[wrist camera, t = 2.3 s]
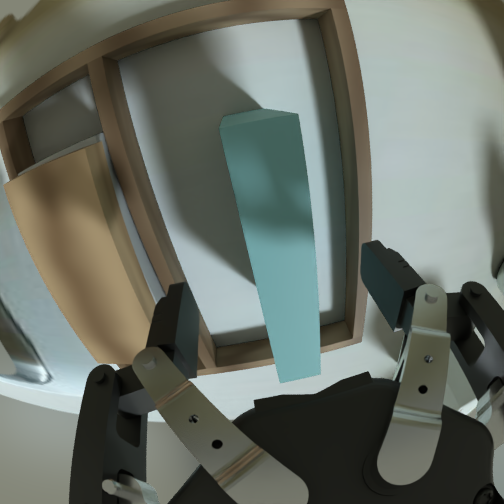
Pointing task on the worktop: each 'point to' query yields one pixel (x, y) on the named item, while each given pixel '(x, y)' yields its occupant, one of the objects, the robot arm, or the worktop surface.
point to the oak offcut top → (85, 252)
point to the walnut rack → (135, 174)
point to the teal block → (277, 231)
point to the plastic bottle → (501, 279)
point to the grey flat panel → (132, 230)
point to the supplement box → (458, 388)
